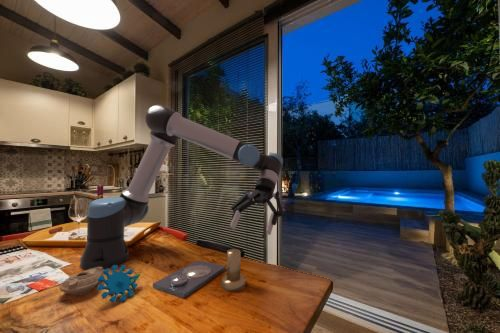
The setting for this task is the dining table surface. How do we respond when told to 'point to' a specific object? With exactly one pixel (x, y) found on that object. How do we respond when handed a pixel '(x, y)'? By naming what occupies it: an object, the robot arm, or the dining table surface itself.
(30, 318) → the dining table surface
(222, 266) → the carrier plate
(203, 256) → the dining table surface
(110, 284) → the gear
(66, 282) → the pottery oil lamp
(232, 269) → the metal knob
